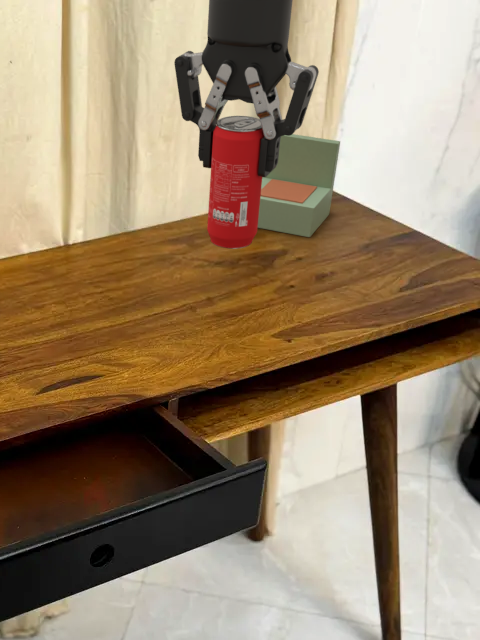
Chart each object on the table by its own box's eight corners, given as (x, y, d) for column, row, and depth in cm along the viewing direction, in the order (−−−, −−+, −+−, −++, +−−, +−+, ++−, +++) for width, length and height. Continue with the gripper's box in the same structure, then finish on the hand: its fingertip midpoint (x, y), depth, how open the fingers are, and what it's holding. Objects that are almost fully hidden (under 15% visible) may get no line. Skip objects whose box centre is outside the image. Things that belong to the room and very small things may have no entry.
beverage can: (196, 239, 104) (202, 121, 96) (231, 226, 106) (240, 111, 99) (231, 254, 101) (240, 134, 93) (266, 241, 103) (278, 123, 96)
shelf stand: (329, 214, 136) (340, 141, 130) (309, 237, 130) (320, 161, 124) (260, 202, 140) (268, 130, 134) (238, 224, 134) (245, 149, 128)
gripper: (162, -18, 88) (156, 171, 99) (317, -4, 83) (294, 193, 94) (194, -32, 94) (185, 149, 104) (342, -20, 89) (317, 169, 99)
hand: (237, 169), depth 99 cm, fingers closed on beverage can, 5 cm apart
